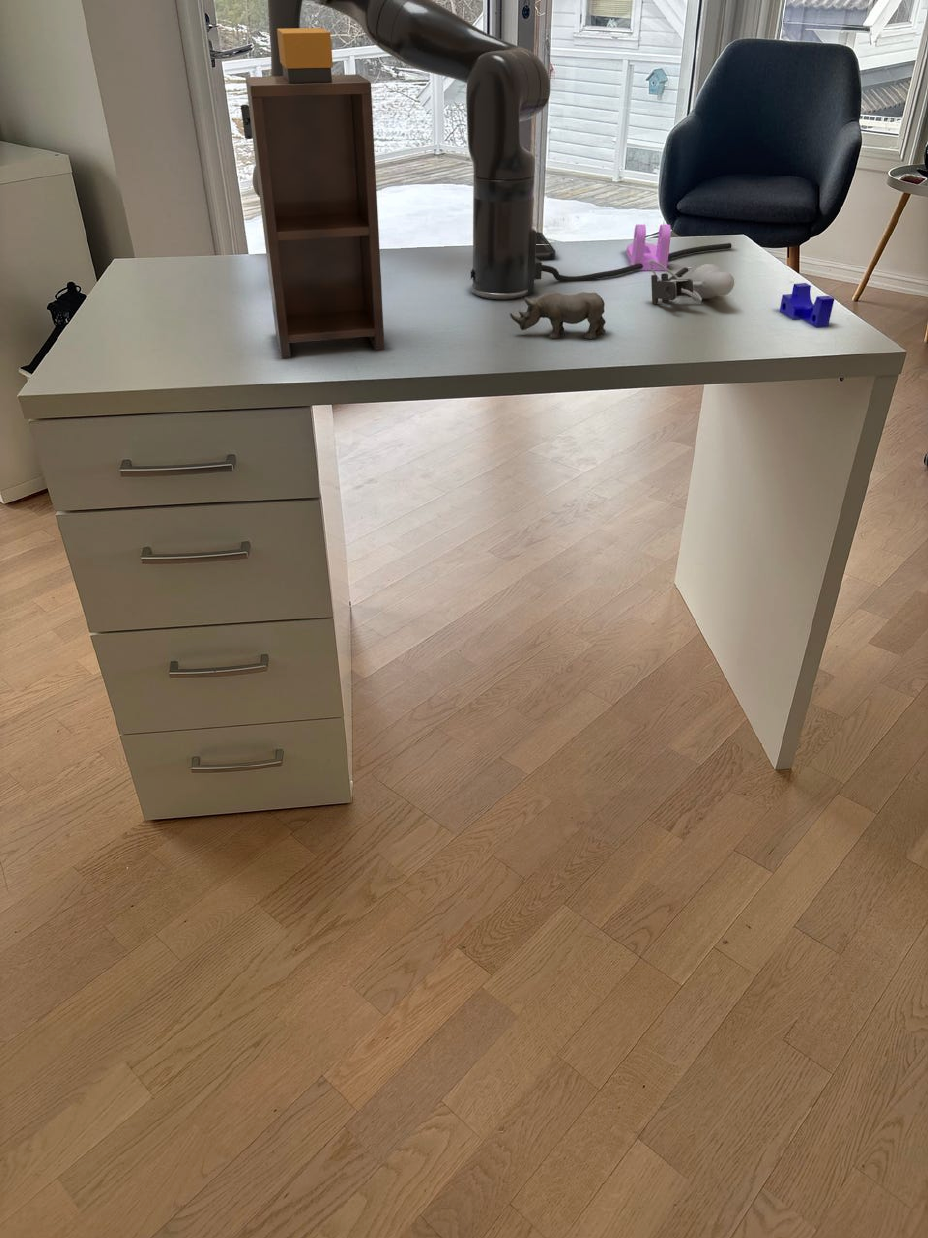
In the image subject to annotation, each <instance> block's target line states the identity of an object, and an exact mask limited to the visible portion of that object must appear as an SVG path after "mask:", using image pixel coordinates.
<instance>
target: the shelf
mask: <svg viewBox="0 0 928 1238" xmlns="http://www.w3.org/2000/svg"><path fill="white" fill-rule="evenodd" d="M245 87H246V95H247V102H248V106H249V112H250V120H251V129H252V137H253V138H252V145H253V153H254V161H255V166H256V171H257V179H258V188H259V196H260V197H259V196H258V197H259V204H260V213H261V220H262V229H263V237H264V245H265V254H266V255H265V256H266V263H267V271H268V272H267V273H268V281H269V288H270V289H269V290H270V296H271V298H270V299H271V305H272V313H273V321H274V322H273V323H274V330H275V338H276V341H277V342H276V343H277V345H278V349H279V352H280V357H281V359H290V358H291V356H292V355H291V346H290V344H292V343H293V344H295V343H306V342H307V343H308V342H318V341H330V340H331V341H332V340H341V339H342V340H343V339H353V338H367V337H369V340H370V341H371V343H372V345H373V348H374V349H375V351H384V350H385V333H384V331H385V330H384V314H383V313H384V312H383V311H384V310H383V292H382V271H381V270H382V269H381V253H380V237H379V236H380V233H379V213H378V212H379V211H378V193H377V172H376V170H377V169H376V151H375V150H376V149H375V135H374V134H375V131H374V130H375V129H374V113H373V112H374V111H373V94H372V82H371V81H370V80H368V79H367V78H366V77H364V76H362V75H361V74H332V82H331V83H294V84H290V83H289V82H288V81H287V80H286V79H285V78H284V77H283V76H275V77H271V76H246V77H245Z"/></svg>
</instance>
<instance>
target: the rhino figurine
mask: <svg viewBox="0 0 928 1238" xmlns="http://www.w3.org/2000/svg"><path fill="white" fill-rule="evenodd" d="M524 302H525V304H526V305H527V309H526V311H525V312H523V311H520V310H519V311H518V314H519V315H520V316H517V315H516V316H515V315H514V314H513V313H511V312H509V315H510V318H511V319H512V321H514V322H515V323H517V324H518V325H519V328H520V330H521V331H525V330H527V329H529V328H531V327H534V326H535V325H536V324H537V323H539V322H540V319H541V318H543V319H548V320H549V321H550V325H551V327H552V328H551V329H552V331H551V333H550V334H549V339H553V340H555V339H559V337H560V336H561V335H560V334H561V333H563V332H564V331H565V327H564V323H565V324H569V325H574V324H575V325H576V324H579V323H582V322H583V321H585V320H587V322H588V324H589V325H588V330H587V332H586V333H585V334H584V339H587V340H588V339H589V340H592V339H595V338H596V337H597V335H602V334H603V335H604V334H605V333H606V330H605V324H606V321H607V320H606V319H605V318H604V317H603V315H604V313H605V311H606V310H605V306H606V305H605V301H604V299H603V297H602V296H601V295H600V294H598V293H597V292H585V291H581V292H578V293H575V294H569V295H568V294H563V293H561V292H558V291H549V292H546V293H543V294H542V295H541V296H538V297H537V298H535V299H533V300H531V299H530V298H528V297H527V296H524Z"/></svg>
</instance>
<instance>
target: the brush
mask: <svg viewBox="0 0 928 1238" xmlns="http://www.w3.org/2000/svg"><path fill="white" fill-rule="evenodd" d="M277 34H278V44H279V54H280V63H281V64H282V67H283V77H284V78H285V79H286V80H287V81H288V82H289V83H290V84H294V83H331V82H332V75H333V73H332V69H333V68H334V63H333V47H332V34H331V31H330V30H329V31H328V30H326V29H325V28H322V27H305V28H303V27H300V28H292V29H277Z"/></svg>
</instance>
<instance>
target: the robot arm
mask: <svg viewBox="0 0 928 1238" xmlns="http://www.w3.org/2000/svg"><path fill="white" fill-rule="evenodd" d="M303 2H305V3H309V4H314V5H319V6H323V7H326V8H329V9H332V10H334V11H337V12H339V13H341V14H343V15H345V16H346V17H348V18H350V19H352V20H353V21H354V22H356V23H357V24H358V26H360V28H361V30H362V32H363V33H364V35H366V37H367V38H368V40H369V41H370V42H372V44H374V45H375V46H376V47H377V48H379V49H380V50H381V51H383V52H384V53H386V54H388V55H389V56H391V57H393V58H394V59H396V60H397V61H399V62H401V63H404V64H405V65H407V66H409V67H411V68H414V69H417V70H420V71H423V72H427V73H429V74H433V75H437V76H442V77H445V78H450V79H453V80H457V81H460V82H463V83H465V84H466V91H465V106H466V107H465V109H466V111H465V112H466V131H467V133H466V135H467V149H468V153H469V156H470V159H471V162H472V168H473V169H472V170H473V171H472V173H473V175H472V179H473V180H472V181H473V183H472V269H471V270H470V280H472V284H471V292H472V293H473V294H474V295H475V296H478V297H480V298H481V297H482V298H486V299H491V300H493V299H494V300H514V299H519V298H523V297H527V296H529V295H534V294H535V280H542V275H543V272H544V273H549V274H552V275H553V278H554V280H556V281H557V282H563V283H572V282H573V283H574V282H589V281H592V280H599V279H604V278H611V277H615V276H616V277H617V276H621V275H624V274H629V273H631V272H635V271H639V270H638V269H641V268H643V265H642V264H640V263H639V264H635V265H631V264H630V265H629V266H625V267H621V268H616V269H613V270H606V271H600V272H595V273H589V274H584V275H575V276H573V275H570V276H568V275H563V274H560V273H559V271H558V269H557V268H555V267H553V266H551V265H546V264H543V262H541V260H538V259H537V258H536V257H535V256H536V232H537V231H536V229H534V228H533V224H534V223H533V222H534V202H535V201H534V200H535V176H536V158H535V155H534V154H533V153H532V152H531V151H530V150H527V149H526V148H524V146H523V144H522V142H521V127H520V126H521V122H525V121H527V120H531V119H532V118H534V117H535V116H537V115H538V114H540V113H541V112H542V111H543V110H544V108H545V107H546V106H547V104H548V102H549V100H550V97H551V80H550V75H549V73H548V70H547V67H546V66H545V64H544V62H543V61H542V60H541V58H539V57H538V55H537V54H535V52H532V51H530V50H529V49H526V48H524V47H521V46H519V45H516V44H514V43H511V42H509V41H506V40H503V39H501V38H499V37H497V36H494V35H492V34H489V33H488V32H485V31H483V30H482V29H479V28H478V27H476V26H475V25H473V24H472V23H470V22H468V21H467V20H466V19H465V18H462V17H460V16H459V15H458V14H456V13H454V12H453V11H451V10H449V9H448V8H446V7H445V6H442V5H441V4H439V3H437V2H436V1H434V0H267V14H268V15H267V16H268V32H269V46H270V47H269V49H270V66H271V67H270V77H275V76H283V67H282V64H281V63H280V54H279V44H278V34H277V29H292V28H301V14H302V8H303ZM240 112H241V118H242V127H243V133H244V139H246V140H251V139H252V140H253V137H252V129H251V120H250V112H249V104H242V105H240ZM252 186H253V190H254V193H255V194H256V195H257V197H259V198H260V196H259V188H258V179H257V171H256V165H254V168H253V172H252ZM731 248H732V243H731V242H726V243H717V244H716V243H715V244H709V245H701V246H693V247H689V248H684V249H680V250H676V251H673V252H669V254H668V260H671V259H675V258H678V257H681V256H685V255H691V254H697V253H702V252H710V251H719V250H720V251H721V250H729V249H731Z"/></svg>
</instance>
